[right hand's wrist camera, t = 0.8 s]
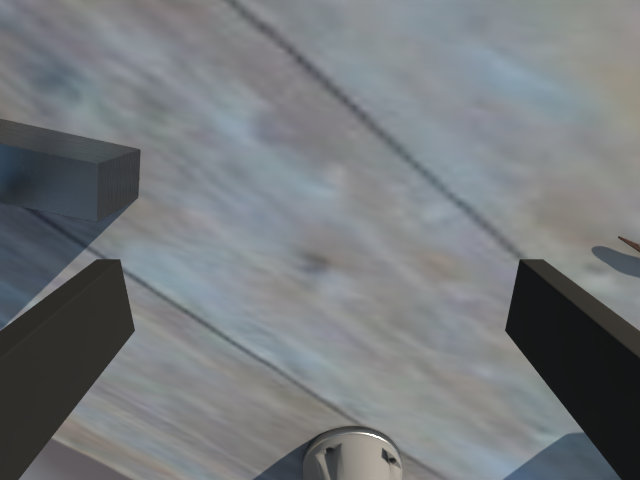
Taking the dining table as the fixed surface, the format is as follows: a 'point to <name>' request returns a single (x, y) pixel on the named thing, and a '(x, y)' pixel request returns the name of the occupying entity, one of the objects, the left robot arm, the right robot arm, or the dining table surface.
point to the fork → (631, 243)
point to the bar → (65, 172)
